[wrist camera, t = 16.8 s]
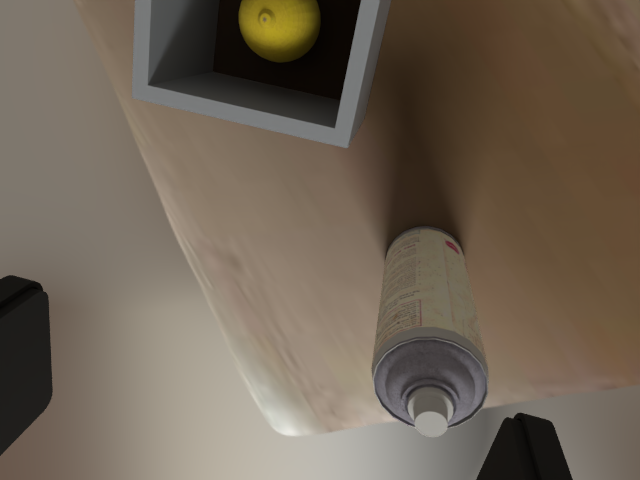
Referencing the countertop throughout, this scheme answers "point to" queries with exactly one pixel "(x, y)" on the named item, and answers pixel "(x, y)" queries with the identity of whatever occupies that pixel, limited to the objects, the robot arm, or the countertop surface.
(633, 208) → the countertop surface
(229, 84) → the tub
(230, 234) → the countertop surface
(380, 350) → the aerosol can
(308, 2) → the lemon
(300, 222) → the countertop surface
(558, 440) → the robot arm
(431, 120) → the countertop surface
